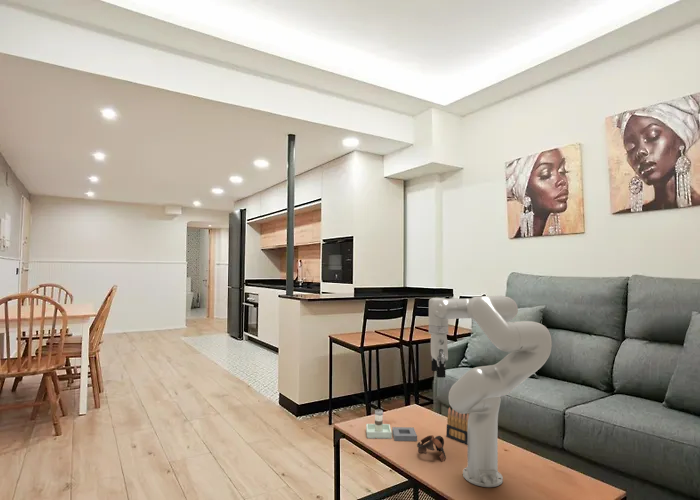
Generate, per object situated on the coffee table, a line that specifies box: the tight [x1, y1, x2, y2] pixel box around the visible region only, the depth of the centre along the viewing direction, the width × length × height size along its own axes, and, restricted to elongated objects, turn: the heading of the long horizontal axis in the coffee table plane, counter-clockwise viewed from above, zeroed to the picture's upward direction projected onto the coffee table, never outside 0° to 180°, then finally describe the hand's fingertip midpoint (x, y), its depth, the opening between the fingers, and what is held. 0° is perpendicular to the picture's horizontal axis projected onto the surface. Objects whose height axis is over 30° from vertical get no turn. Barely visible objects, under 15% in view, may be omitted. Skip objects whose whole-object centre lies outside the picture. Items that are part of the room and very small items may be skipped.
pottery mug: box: [416, 435, 447, 463], centre depth 151 cm, size 12×10×8 cm
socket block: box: [391, 426, 418, 442], centre depth 168 cm, size 9×9×2 cm
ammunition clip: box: [445, 406, 470, 446], centre depth 165 cm, size 11×2×12 cm, turn 40°
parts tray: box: [365, 423, 393, 440], centre depth 170 cm, size 9×10×2 cm
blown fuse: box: [374, 409, 384, 432], centre depth 170 cm, size 3×3×9 cm
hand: (438, 374), depth 158 cm, fingers open, 9 cm apart
